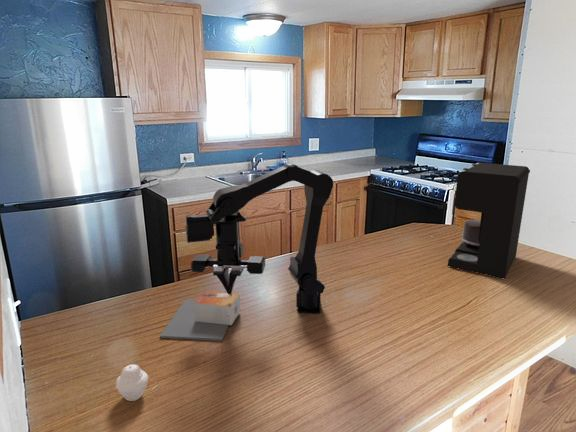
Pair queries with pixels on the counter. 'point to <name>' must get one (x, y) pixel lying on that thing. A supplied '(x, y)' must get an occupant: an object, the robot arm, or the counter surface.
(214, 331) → the mat
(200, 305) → the small box
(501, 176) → the coffee maker
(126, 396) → the muffin
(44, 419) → the counter surface
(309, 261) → the robot arm
